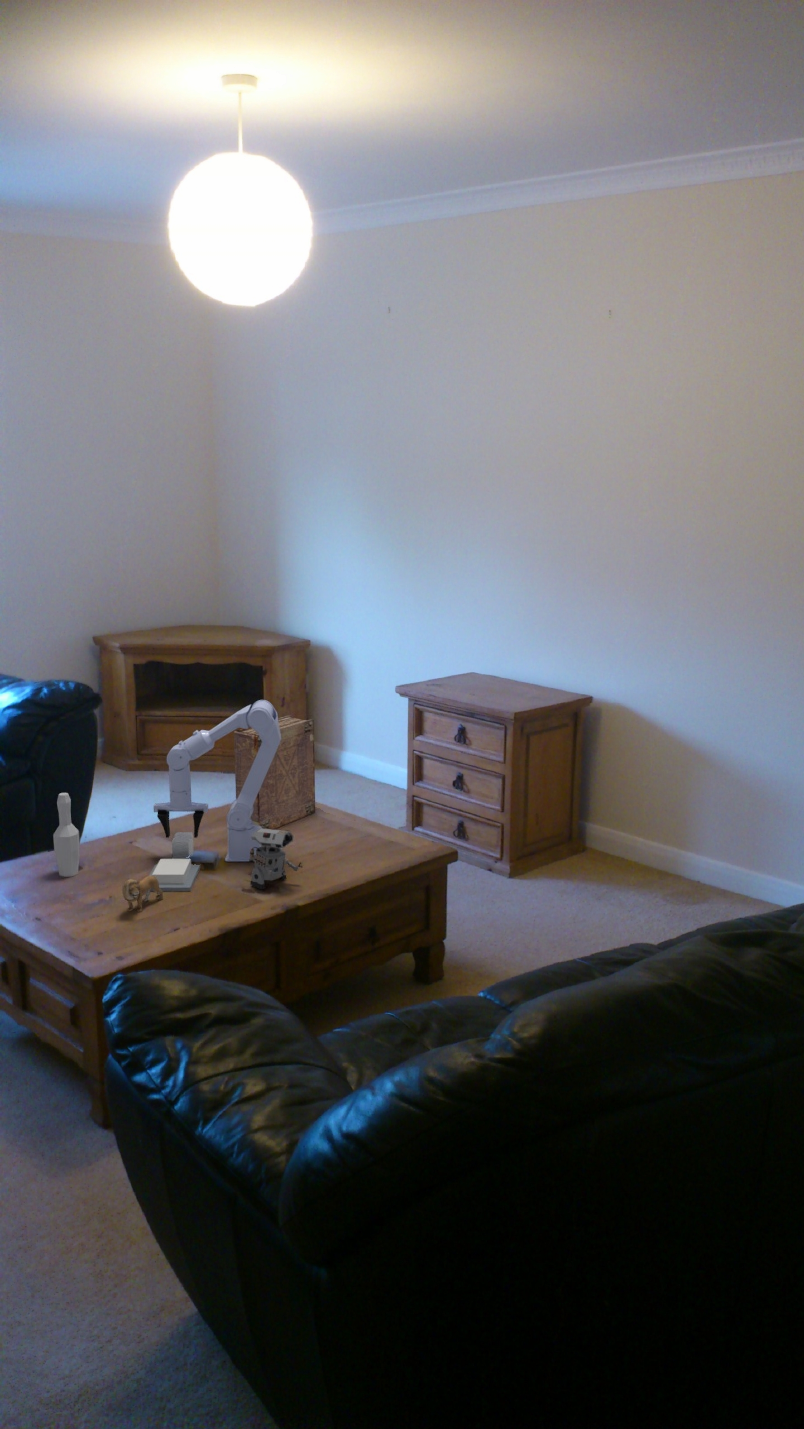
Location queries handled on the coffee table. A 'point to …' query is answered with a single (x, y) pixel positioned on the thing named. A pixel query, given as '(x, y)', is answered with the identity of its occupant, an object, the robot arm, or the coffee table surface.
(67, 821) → the faceted bottle
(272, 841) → the figurine
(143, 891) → the lion figurine
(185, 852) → the block
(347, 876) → the coffee table surface
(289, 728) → the book
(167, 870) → the display stand
